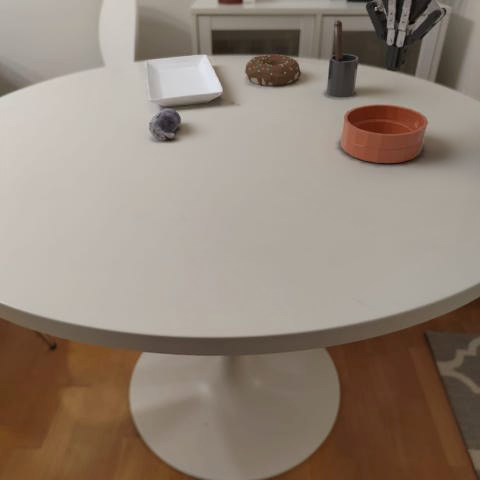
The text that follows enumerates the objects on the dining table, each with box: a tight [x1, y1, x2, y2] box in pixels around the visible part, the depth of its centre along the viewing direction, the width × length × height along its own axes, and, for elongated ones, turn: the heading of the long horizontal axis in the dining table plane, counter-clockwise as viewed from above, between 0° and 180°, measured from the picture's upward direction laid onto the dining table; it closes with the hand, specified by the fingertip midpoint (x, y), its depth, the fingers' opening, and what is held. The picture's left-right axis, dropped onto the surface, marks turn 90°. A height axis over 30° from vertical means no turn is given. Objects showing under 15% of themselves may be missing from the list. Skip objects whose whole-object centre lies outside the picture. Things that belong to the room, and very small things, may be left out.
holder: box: [326, 53, 359, 98], centre depth 103 cm, size 6×6×8 cm
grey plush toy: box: [148, 107, 182, 142], centre depth 91 cm, size 5×5×10 cm
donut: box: [244, 53, 302, 87], centre depth 113 cm, size 14×14×5 cm
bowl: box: [340, 104, 429, 164], centre depth 82 cm, size 14×14×6 cm
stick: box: [333, 20, 344, 61], centre depth 99 cm, size 2×2×16 cm
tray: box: [144, 54, 224, 108], centre depth 112 cm, size 17×32×4 cm, turn 10°
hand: (393, 69), depth 76 cm, fingers closed
